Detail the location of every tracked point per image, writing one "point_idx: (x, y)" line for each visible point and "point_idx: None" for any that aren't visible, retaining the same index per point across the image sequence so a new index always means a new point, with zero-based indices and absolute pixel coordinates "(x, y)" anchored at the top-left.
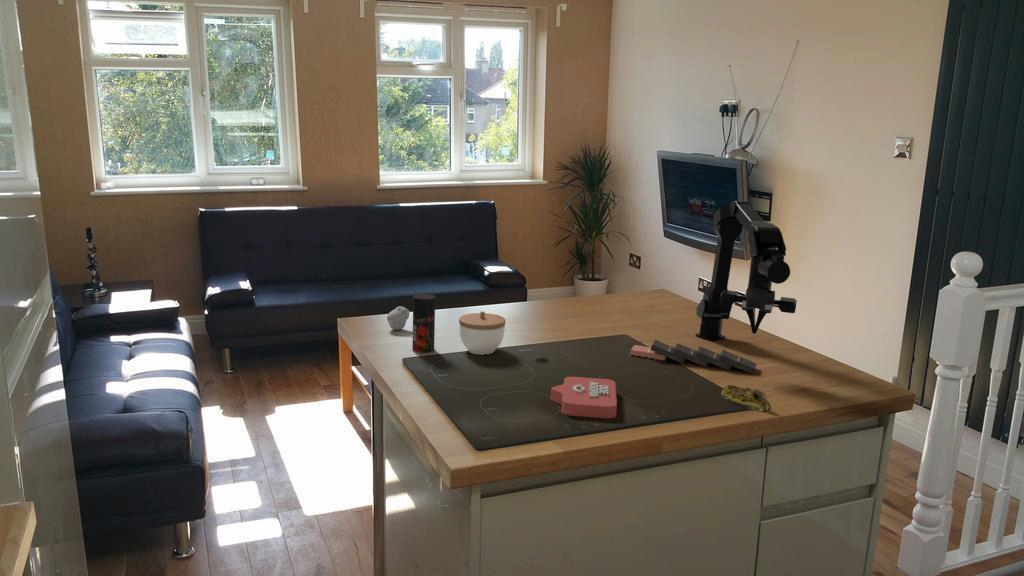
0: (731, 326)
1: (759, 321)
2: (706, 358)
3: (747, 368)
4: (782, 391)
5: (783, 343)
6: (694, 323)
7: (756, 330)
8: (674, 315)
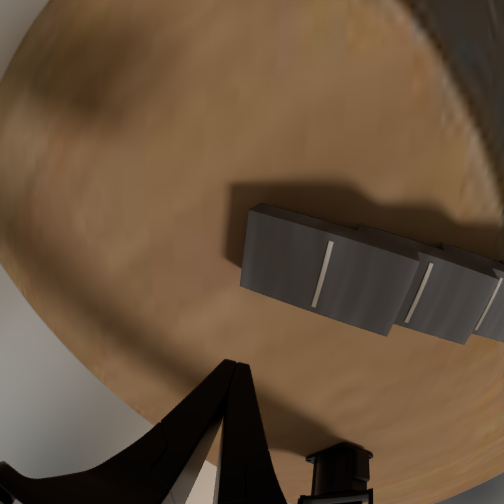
0: None
1: (165, 436)
2: (458, 259)
3: (285, 215)
4: (157, 36)
5: None
6: None
7: (213, 375)
8: None
